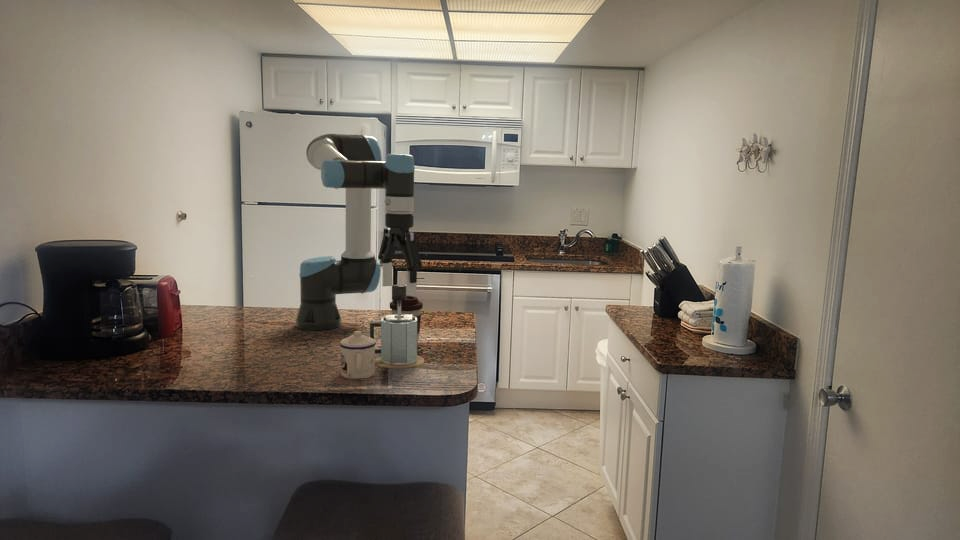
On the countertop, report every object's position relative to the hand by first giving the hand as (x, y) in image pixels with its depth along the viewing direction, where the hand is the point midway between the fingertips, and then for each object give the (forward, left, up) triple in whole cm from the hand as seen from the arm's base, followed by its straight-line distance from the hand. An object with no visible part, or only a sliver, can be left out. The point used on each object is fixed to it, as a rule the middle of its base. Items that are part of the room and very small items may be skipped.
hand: (398, 290), depth 166 cm
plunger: (0, 0, -17) cm, 17 cm away
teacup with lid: (+6, -15, -21) cm, 26 cm away
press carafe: (0, -1, -20) cm, 20 cm away
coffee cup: (-14, +10, -21) cm, 27 cm away
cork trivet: (0, 0, -20) cm, 20 cm away
